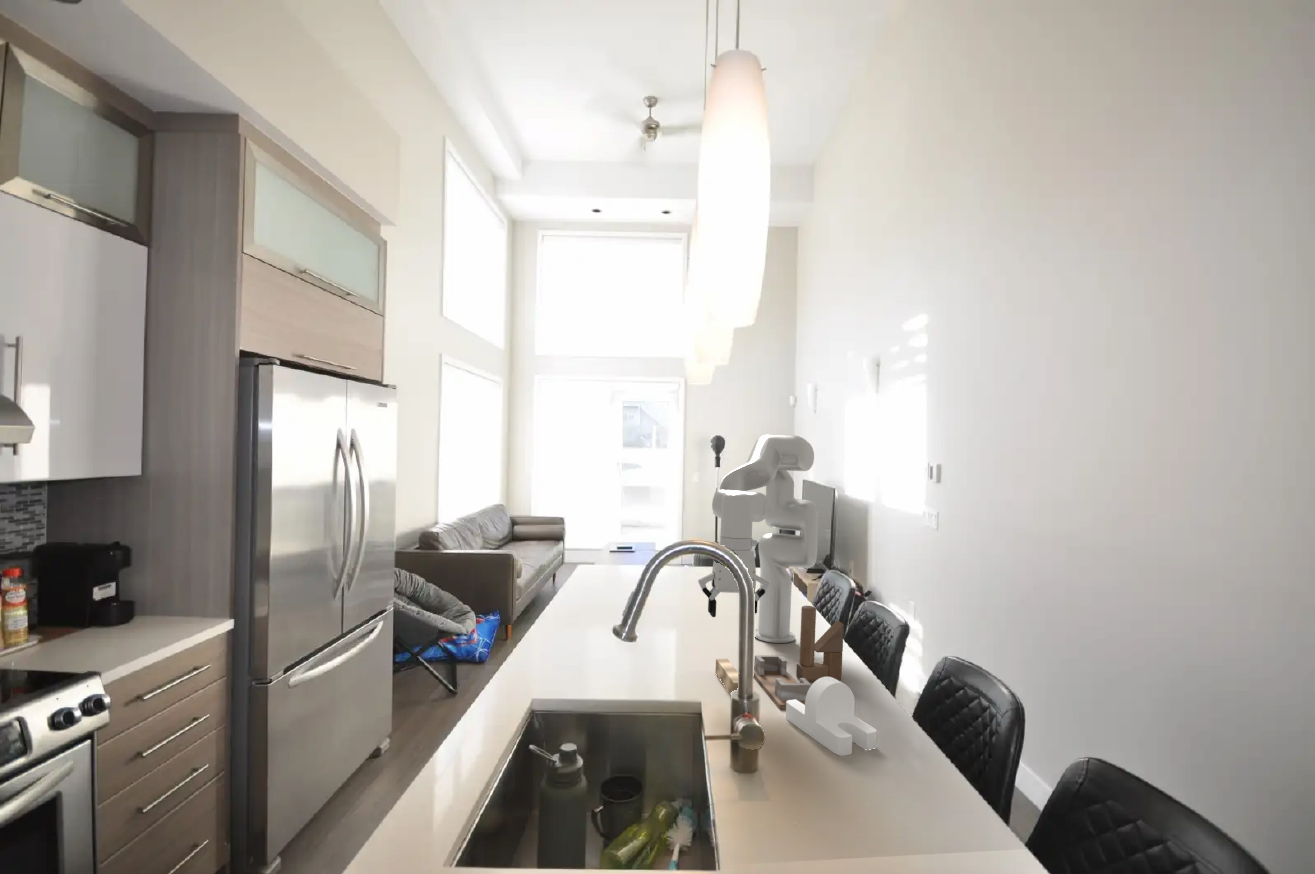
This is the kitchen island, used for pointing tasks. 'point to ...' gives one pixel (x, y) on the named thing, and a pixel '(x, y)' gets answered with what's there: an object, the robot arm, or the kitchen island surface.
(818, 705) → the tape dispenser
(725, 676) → the oak slat
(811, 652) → the wooden block
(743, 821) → the kitchen island surface
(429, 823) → the kitchen island surface
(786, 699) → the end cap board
